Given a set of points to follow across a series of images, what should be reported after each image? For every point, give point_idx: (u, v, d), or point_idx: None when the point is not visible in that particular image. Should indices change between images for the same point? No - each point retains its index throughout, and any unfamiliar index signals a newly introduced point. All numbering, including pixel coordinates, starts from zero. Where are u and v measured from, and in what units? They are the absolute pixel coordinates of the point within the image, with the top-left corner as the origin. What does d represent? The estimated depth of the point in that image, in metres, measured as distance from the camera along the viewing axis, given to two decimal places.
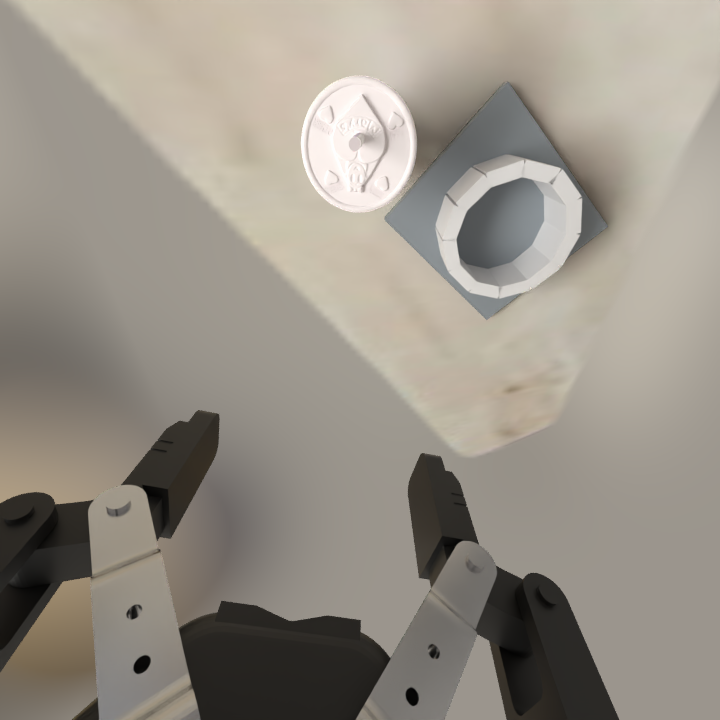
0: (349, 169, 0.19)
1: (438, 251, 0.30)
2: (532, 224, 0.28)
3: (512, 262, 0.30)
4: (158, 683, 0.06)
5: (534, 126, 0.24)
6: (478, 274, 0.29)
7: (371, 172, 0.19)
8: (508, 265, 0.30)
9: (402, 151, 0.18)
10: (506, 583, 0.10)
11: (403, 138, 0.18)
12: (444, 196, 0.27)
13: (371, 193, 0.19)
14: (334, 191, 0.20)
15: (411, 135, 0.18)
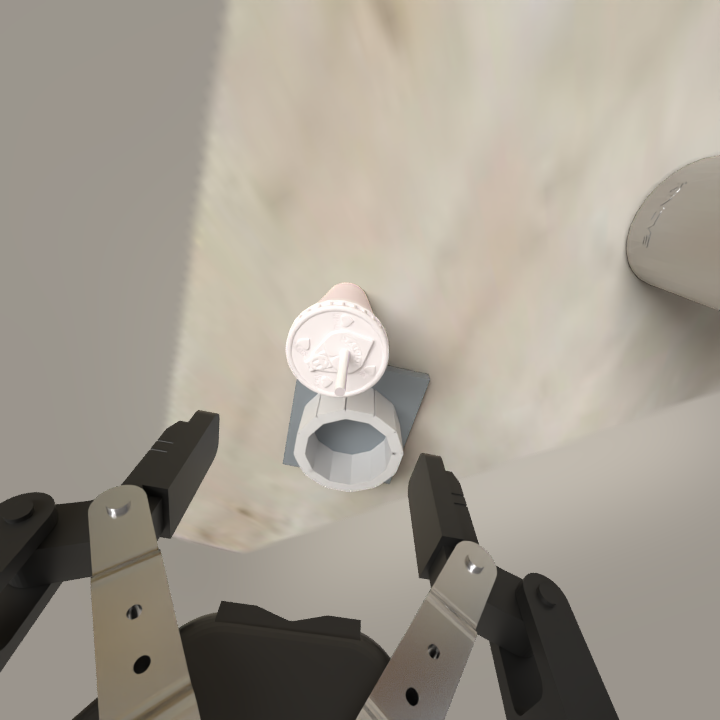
0: (320, 355, 0.20)
1: (306, 402, 0.33)
2: (364, 446, 0.35)
3: (333, 452, 0.35)
4: (158, 682, 0.06)
5: (416, 409, 0.33)
6: (310, 444, 0.32)
7: (328, 371, 0.21)
8: (330, 452, 0.35)
9: (355, 384, 0.21)
10: (506, 583, 0.10)
11: (363, 380, 0.21)
12: None
13: (314, 377, 0.21)
14: (296, 350, 0.20)
15: (368, 385, 0.21)
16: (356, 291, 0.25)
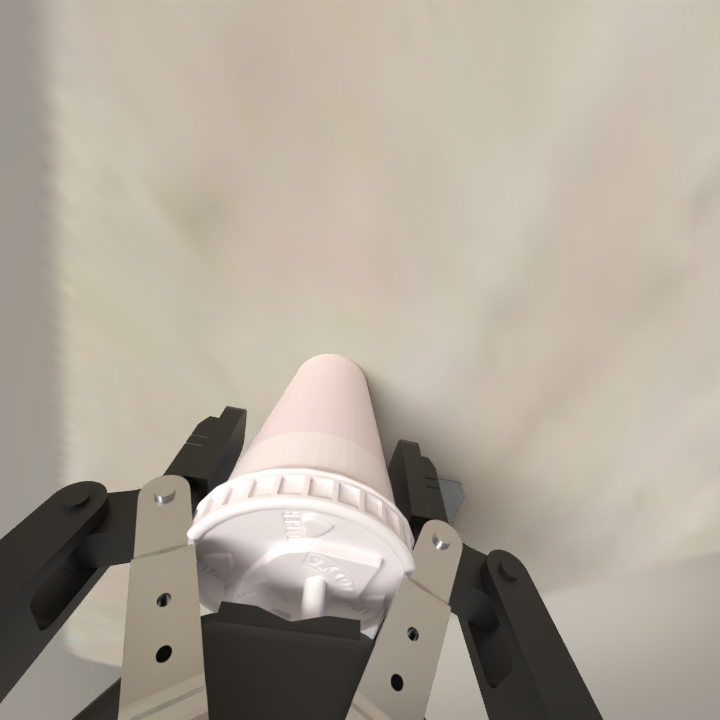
0: (258, 585, 0.09)
1: None
2: None
3: None
4: (176, 675, 0.06)
5: None
6: None
7: (280, 605, 0.09)
8: None
9: None
10: (472, 560, 0.10)
11: (358, 615, 0.10)
12: None
13: None
14: (204, 570, 0.09)
15: (369, 623, 0.10)
16: (345, 384, 0.14)
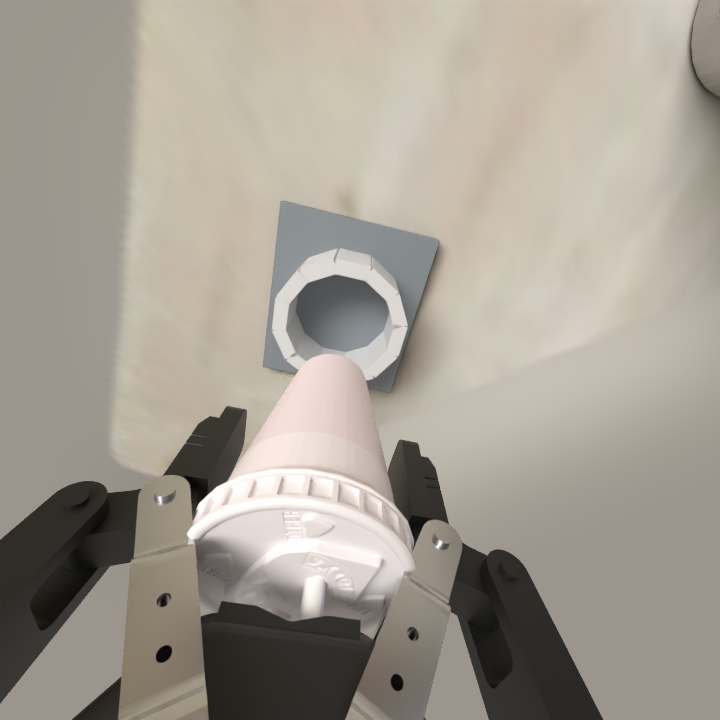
0: (258, 585, 0.09)
1: (288, 277, 0.27)
2: (359, 339, 0.29)
3: (322, 348, 0.30)
4: (176, 675, 0.06)
5: (422, 285, 0.27)
6: (293, 327, 0.27)
7: (280, 605, 0.09)
8: (318, 347, 0.29)
9: None
10: (472, 559, 0.10)
11: (358, 615, 0.10)
12: (335, 248, 0.26)
13: None
14: (205, 570, 0.09)
15: (369, 623, 0.10)
16: (345, 385, 0.14)
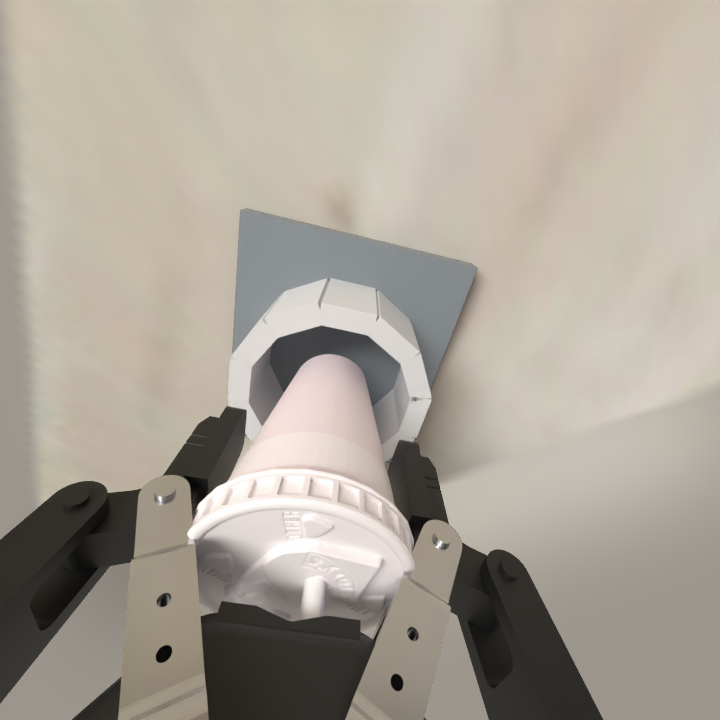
0: (258, 585, 0.09)
1: (257, 318, 0.19)
2: None
3: None
4: (176, 675, 0.06)
5: (449, 329, 0.19)
6: (264, 391, 0.18)
7: (280, 605, 0.09)
8: None
9: None
10: (472, 559, 0.10)
11: (358, 615, 0.10)
12: (324, 278, 0.17)
13: None
14: (205, 571, 0.09)
15: (369, 623, 0.10)
16: (345, 385, 0.14)
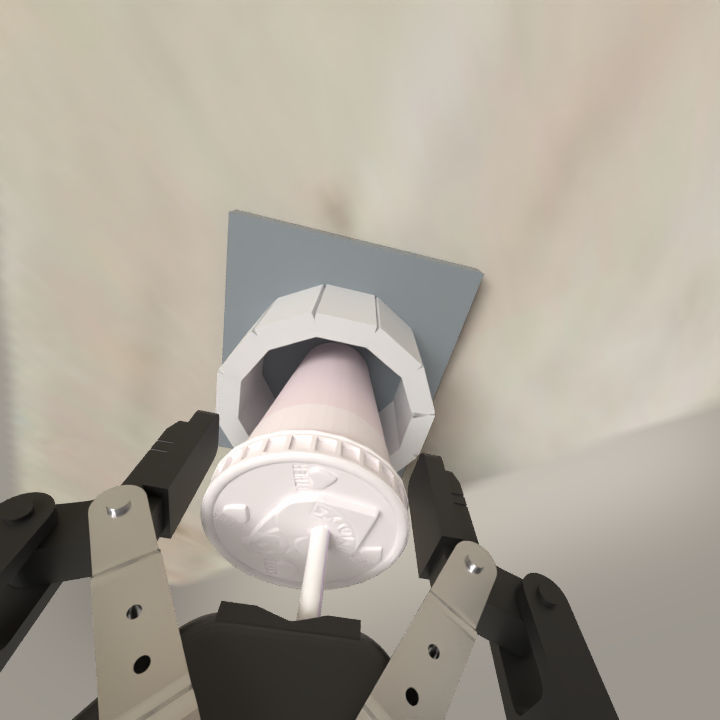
0: (270, 535, 0.10)
1: (249, 326, 0.17)
2: None
3: None
4: (158, 682, 0.06)
5: (453, 338, 0.18)
6: (255, 404, 0.17)
7: (289, 555, 0.11)
8: None
9: (343, 571, 0.11)
10: (506, 583, 0.10)
11: (359, 567, 0.11)
12: (320, 284, 0.16)
13: (264, 561, 0.11)
14: (223, 522, 0.10)
15: (368, 574, 0.11)
16: (348, 368, 0.15)
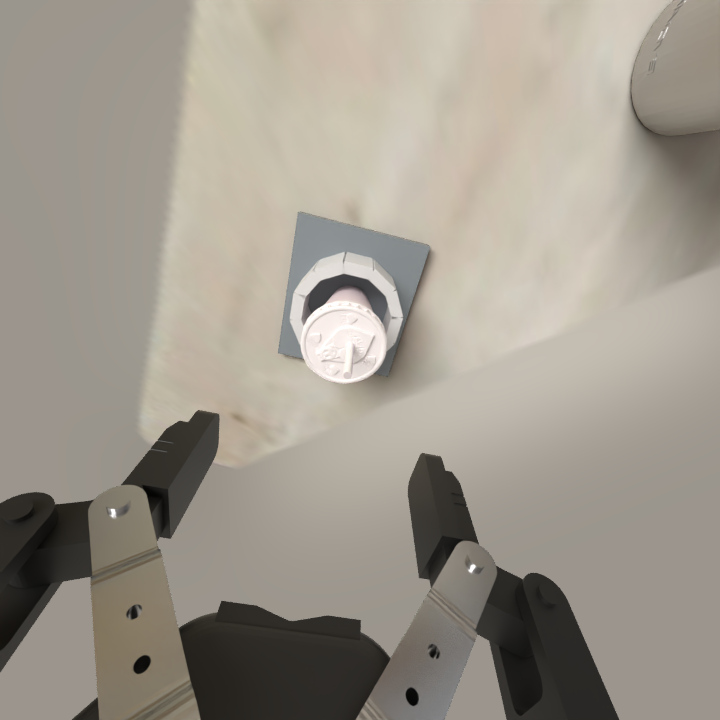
0: (329, 347, 0.24)
1: (302, 276, 0.32)
2: None
3: None
4: (158, 682, 0.06)
5: (415, 283, 0.32)
6: (306, 318, 0.31)
7: (336, 361, 0.25)
8: None
9: (358, 372, 0.25)
10: (506, 583, 0.10)
11: (365, 368, 0.25)
12: (343, 252, 0.31)
13: (324, 366, 0.25)
14: (309, 343, 0.24)
15: (369, 372, 0.25)
16: (358, 293, 0.29)
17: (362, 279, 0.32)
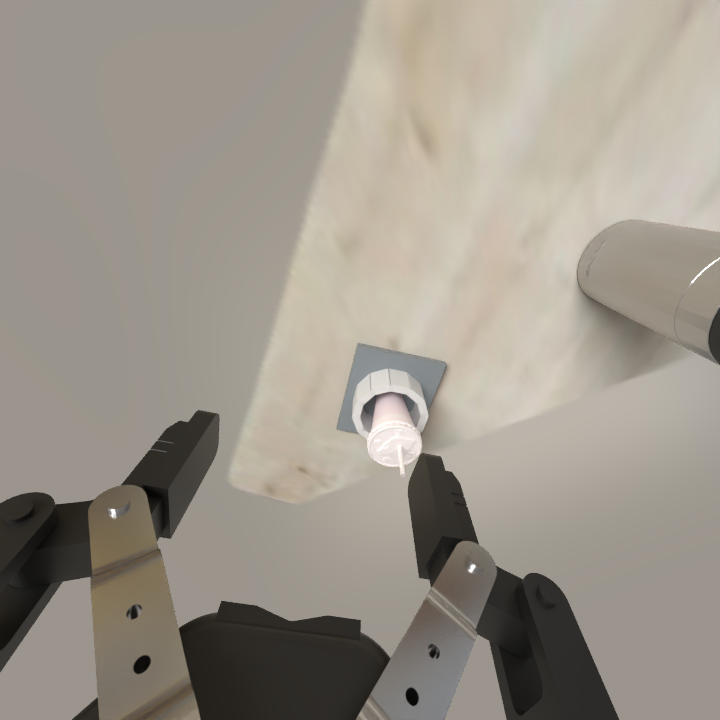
0: (386, 448, 0.39)
1: (358, 382, 0.46)
2: None
3: None
4: (159, 682, 0.06)
5: (436, 387, 0.46)
6: (361, 412, 0.46)
7: (389, 455, 0.39)
8: (372, 419, 0.48)
9: (403, 460, 0.40)
10: (506, 583, 0.10)
11: (408, 458, 0.40)
12: (387, 368, 0.45)
13: (381, 457, 0.40)
14: (373, 445, 0.39)
15: (410, 461, 0.40)
16: (398, 400, 0.44)
17: None
